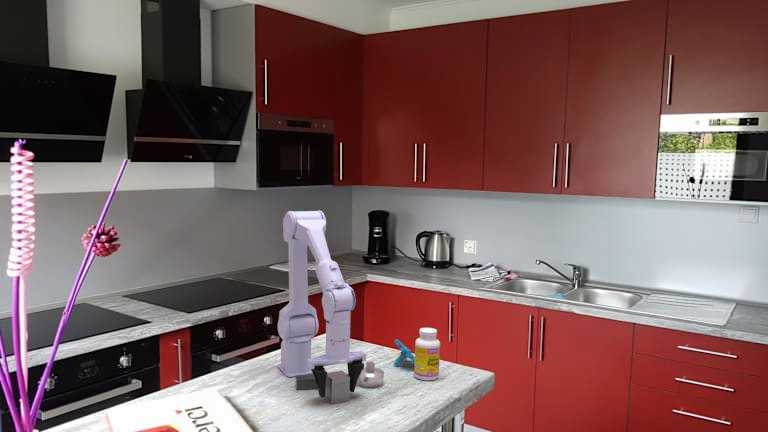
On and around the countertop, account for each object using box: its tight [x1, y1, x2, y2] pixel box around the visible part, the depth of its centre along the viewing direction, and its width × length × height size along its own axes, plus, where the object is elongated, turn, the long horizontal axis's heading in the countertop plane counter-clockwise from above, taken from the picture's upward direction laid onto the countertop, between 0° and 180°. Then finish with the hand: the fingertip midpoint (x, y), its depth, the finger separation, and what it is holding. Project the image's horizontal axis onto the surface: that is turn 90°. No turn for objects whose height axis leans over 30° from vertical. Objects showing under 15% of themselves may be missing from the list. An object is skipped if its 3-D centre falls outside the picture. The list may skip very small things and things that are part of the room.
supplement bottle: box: [413, 327, 441, 381], centre depth 156 cm, size 7×7×13 cm
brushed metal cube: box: [324, 370, 351, 405], centre depth 139 cm, size 5×5×6 cm
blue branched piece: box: [393, 339, 415, 367], centre depth 165 cm, size 11×6×10 cm
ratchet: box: [295, 360, 385, 391], centre depth 148 cm, size 10×22×6 cm, turn 118°
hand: (336, 393), depth 140 cm, fingers open, 7 cm apart
